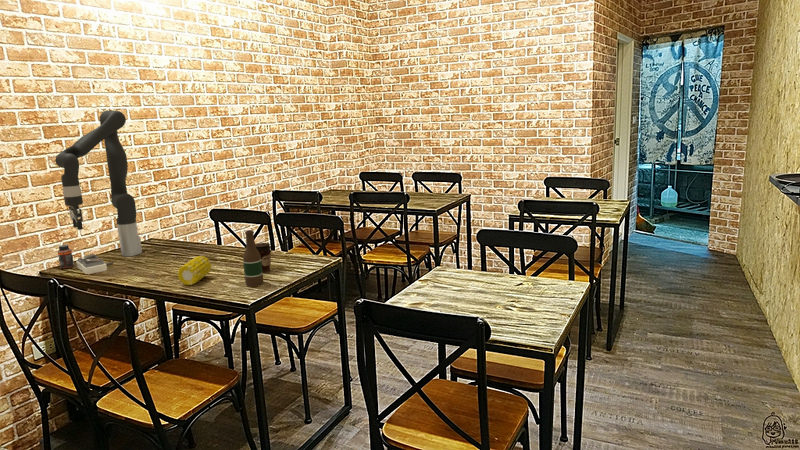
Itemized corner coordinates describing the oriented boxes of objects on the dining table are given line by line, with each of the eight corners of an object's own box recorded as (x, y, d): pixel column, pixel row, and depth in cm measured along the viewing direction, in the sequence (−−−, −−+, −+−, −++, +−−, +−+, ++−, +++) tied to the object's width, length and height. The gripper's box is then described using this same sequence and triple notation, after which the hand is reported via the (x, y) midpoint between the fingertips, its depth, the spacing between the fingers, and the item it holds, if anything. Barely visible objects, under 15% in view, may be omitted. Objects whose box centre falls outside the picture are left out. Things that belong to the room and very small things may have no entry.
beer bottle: (247, 281, 236) (241, 229, 230) (265, 280, 236) (260, 228, 231) (243, 287, 228) (238, 233, 223) (262, 286, 229) (256, 232, 223)
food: (194, 287, 230) (191, 265, 227) (173, 285, 234) (170, 263, 232) (218, 276, 244) (215, 255, 241) (198, 274, 248) (195, 253, 245)
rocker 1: (93, 255, 267) (92, 253, 267) (96, 257, 264) (94, 254, 264) (80, 260, 264) (79, 258, 263) (83, 262, 261) (82, 259, 260)
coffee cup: (277, 269, 252) (274, 242, 249) (267, 274, 244) (264, 247, 241) (261, 267, 255) (258, 241, 252) (251, 273, 247) (248, 246, 244)
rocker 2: (98, 261, 261) (98, 258, 261) (100, 263, 258) (101, 260, 258) (84, 262, 257) (84, 259, 257) (87, 263, 254) (87, 260, 254)
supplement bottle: (77, 265, 267) (73, 243, 265) (69, 269, 262) (64, 247, 259) (66, 265, 268) (62, 243, 265) (57, 269, 262) (53, 247, 260)
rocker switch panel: (107, 260, 274) (106, 252, 273) (118, 267, 261) (116, 258, 260) (77, 266, 265) (75, 258, 264) (86, 274, 252) (84, 265, 251)
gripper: (85, 195, 253) (90, 229, 256) (77, 192, 263) (83, 224, 267) (67, 197, 248) (73, 232, 251) (60, 194, 258) (66, 227, 262)
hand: (78, 228), depth 259 cm, fingers open, 7 cm apart
